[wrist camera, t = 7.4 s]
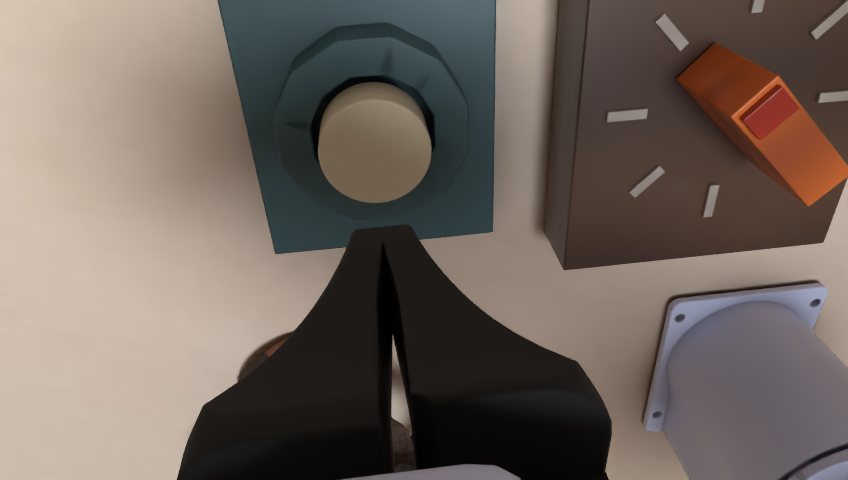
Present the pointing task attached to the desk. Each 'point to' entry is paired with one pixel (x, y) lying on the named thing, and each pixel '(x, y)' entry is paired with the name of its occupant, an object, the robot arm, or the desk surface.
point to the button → (374, 143)
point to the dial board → (681, 128)
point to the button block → (353, 64)
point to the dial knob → (765, 122)
